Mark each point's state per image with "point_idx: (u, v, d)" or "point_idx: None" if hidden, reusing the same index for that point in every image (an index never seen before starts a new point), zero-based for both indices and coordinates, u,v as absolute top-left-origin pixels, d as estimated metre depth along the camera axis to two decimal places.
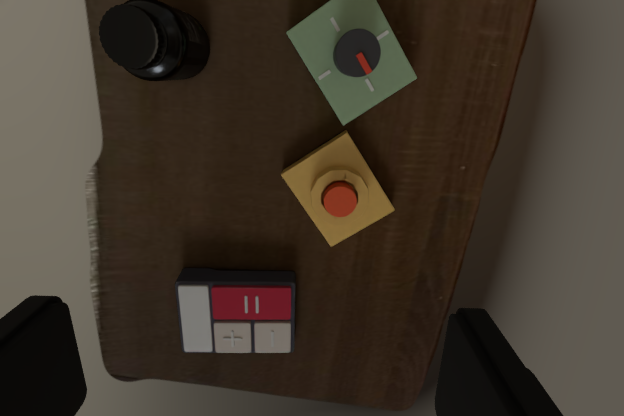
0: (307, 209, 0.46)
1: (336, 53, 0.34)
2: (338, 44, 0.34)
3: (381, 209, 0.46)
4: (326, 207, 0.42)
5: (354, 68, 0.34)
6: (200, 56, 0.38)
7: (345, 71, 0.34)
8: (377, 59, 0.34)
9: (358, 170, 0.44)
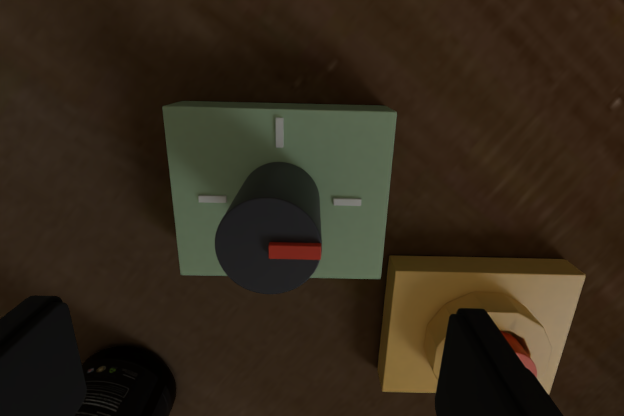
0: None
1: (242, 285, 0.15)
2: (227, 272, 0.15)
3: (564, 295, 0.22)
4: None
5: (291, 271, 0.15)
6: (142, 402, 0.23)
7: (286, 288, 0.15)
8: (305, 219, 0.14)
9: (469, 290, 0.22)
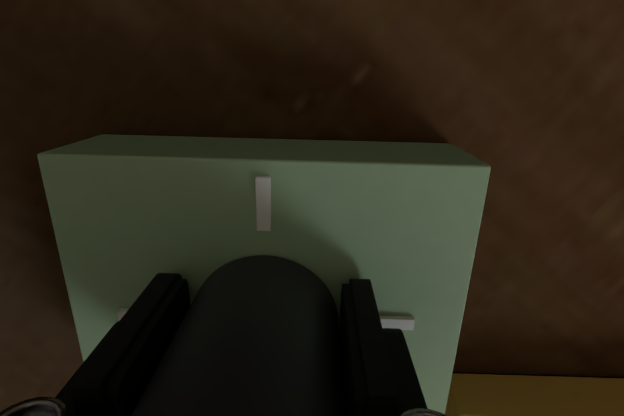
0: None
1: None
2: None
3: None
4: None
5: None
6: None
7: None
8: None
9: None
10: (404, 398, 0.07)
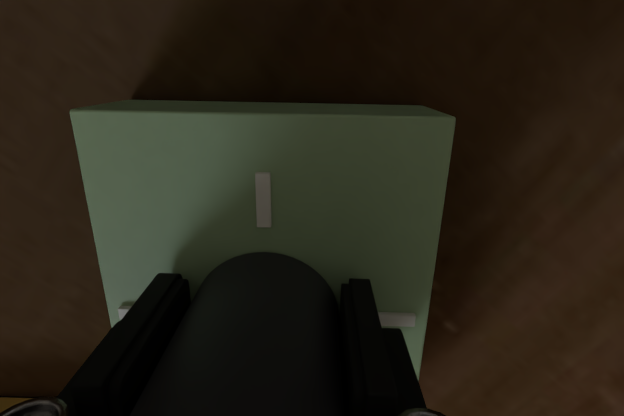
0: None
1: None
2: None
3: None
4: None
5: None
6: None
7: None
8: None
9: None
10: (403, 398, 0.07)
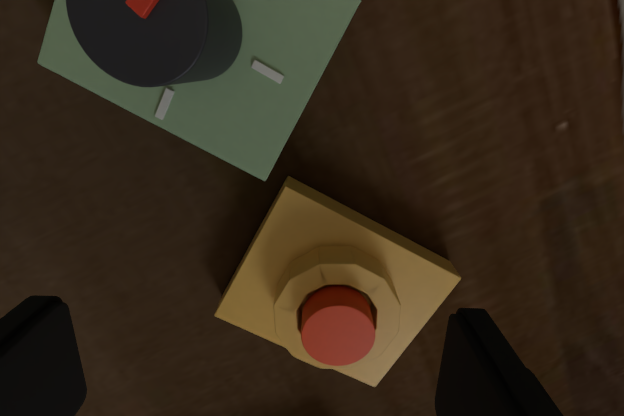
0: None
1: (162, 82, 0.11)
2: (137, 82, 0.11)
3: (433, 289, 0.21)
4: (316, 357, 0.19)
5: (181, 13, 0.11)
6: None
7: (200, 39, 0.11)
8: None
9: (348, 242, 0.20)
10: None
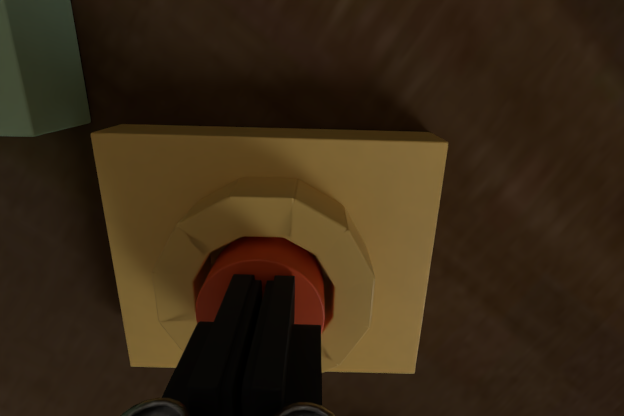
0: None
1: None
2: None
3: (413, 184, 0.12)
4: None
5: None
6: None
7: None
8: None
9: (236, 173, 0.12)
10: (301, 393, 0.07)
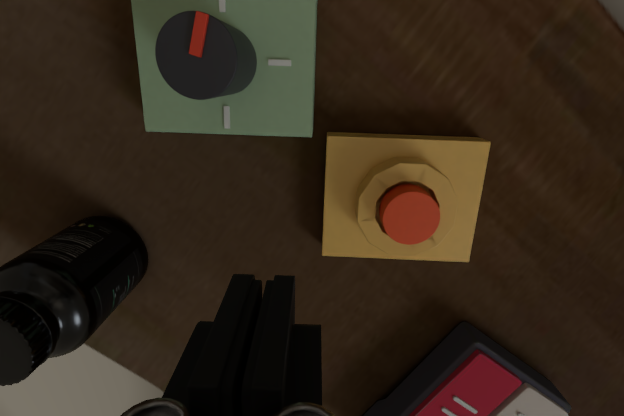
0: (392, 255, 0.29)
1: (223, 88, 0.19)
2: (211, 95, 0.19)
3: (473, 161, 0.26)
4: (404, 242, 0.25)
5: (218, 43, 0.18)
6: (114, 250, 0.27)
7: (233, 52, 0.18)
8: (176, 18, 0.18)
9: (391, 155, 0.26)
10: (301, 393, 0.07)
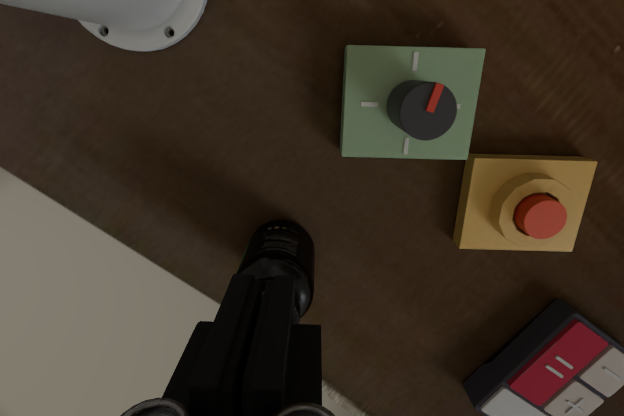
0: (513, 247, 0.37)
1: (443, 132, 0.27)
2: (433, 137, 0.27)
3: (583, 175, 0.35)
4: (538, 237, 0.33)
5: (445, 103, 0.26)
6: (307, 246, 0.36)
7: (455, 109, 0.27)
8: (419, 87, 0.26)
9: (521, 172, 0.35)
10: (302, 393, 0.07)
